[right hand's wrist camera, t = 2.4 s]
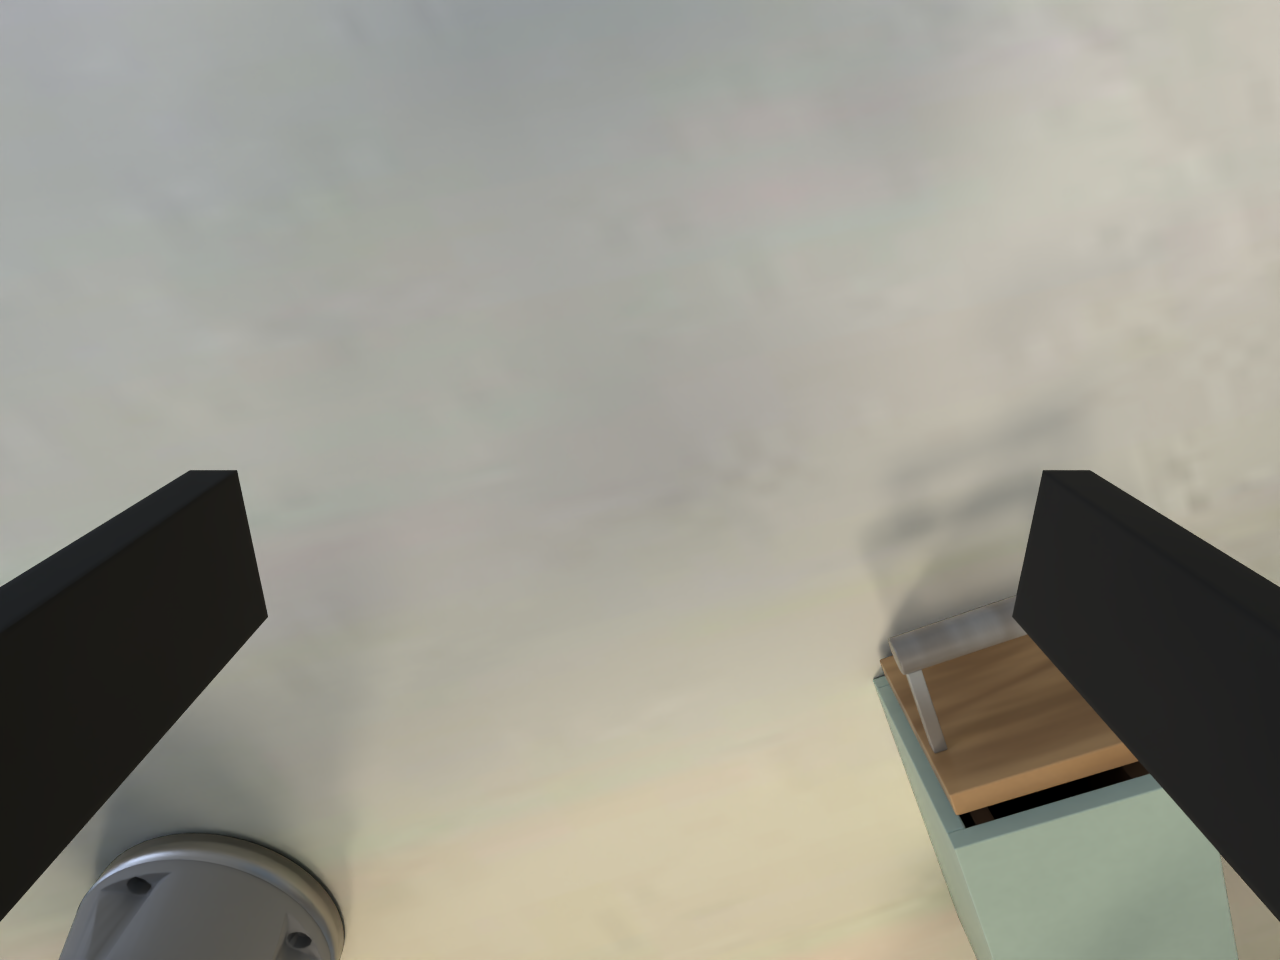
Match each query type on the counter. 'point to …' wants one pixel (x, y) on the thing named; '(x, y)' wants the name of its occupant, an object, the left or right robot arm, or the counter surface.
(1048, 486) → the right robot arm
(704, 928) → the counter surface
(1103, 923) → the cabinet
